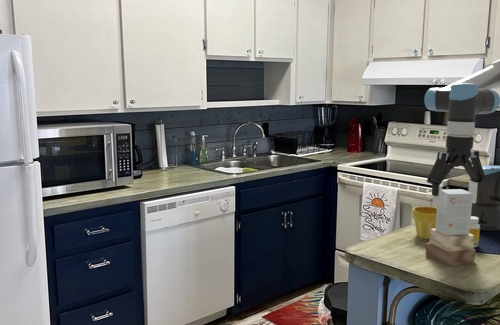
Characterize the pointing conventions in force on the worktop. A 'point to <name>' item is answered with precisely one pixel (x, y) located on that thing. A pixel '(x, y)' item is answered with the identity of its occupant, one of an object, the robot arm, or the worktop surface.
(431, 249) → the walnut slab
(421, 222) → the plant pot
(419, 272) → the worktop surface
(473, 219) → the supplement bottle
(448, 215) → the small box
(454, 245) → the maple slab
